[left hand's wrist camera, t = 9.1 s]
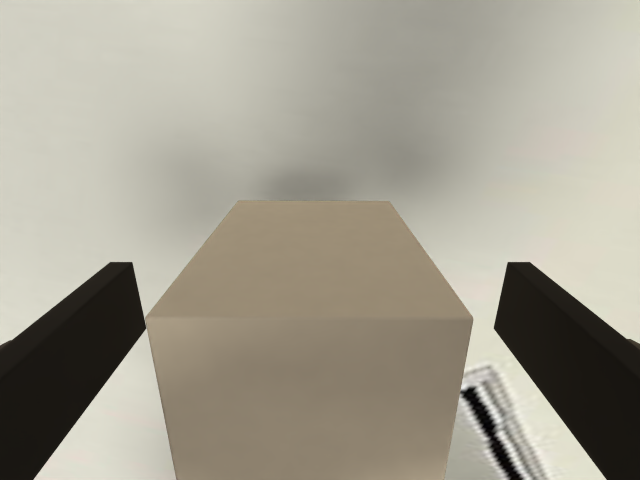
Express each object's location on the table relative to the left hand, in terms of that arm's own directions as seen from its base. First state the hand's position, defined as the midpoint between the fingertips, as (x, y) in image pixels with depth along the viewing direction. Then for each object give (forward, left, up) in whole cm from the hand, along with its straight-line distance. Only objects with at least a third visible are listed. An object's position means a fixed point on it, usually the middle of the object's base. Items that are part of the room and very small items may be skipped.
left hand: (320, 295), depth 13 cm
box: (+4, +6, -3) cm, 8 cm away
